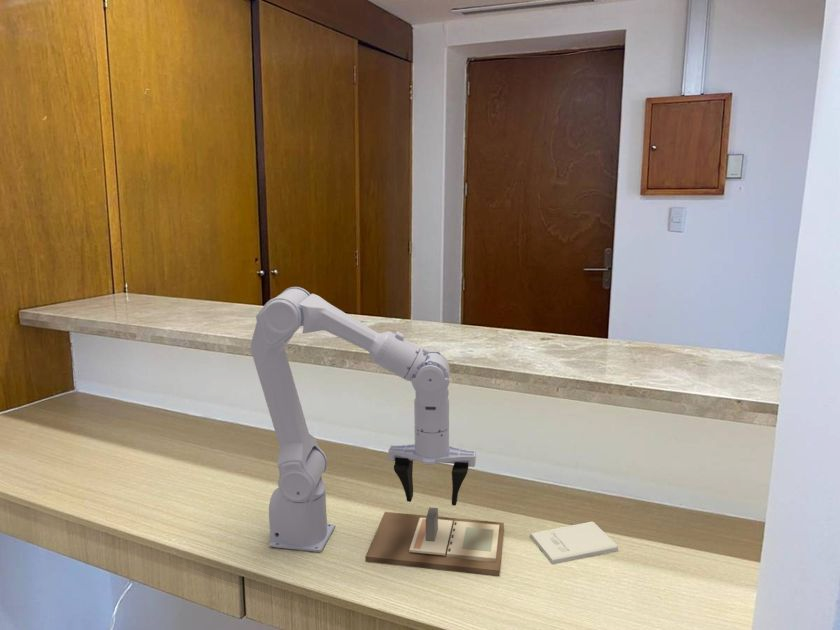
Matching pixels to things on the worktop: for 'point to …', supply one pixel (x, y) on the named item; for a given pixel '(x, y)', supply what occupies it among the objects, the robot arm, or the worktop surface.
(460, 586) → the worktop surface
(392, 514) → the ticket board
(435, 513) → the stub
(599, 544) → the external hard drive
